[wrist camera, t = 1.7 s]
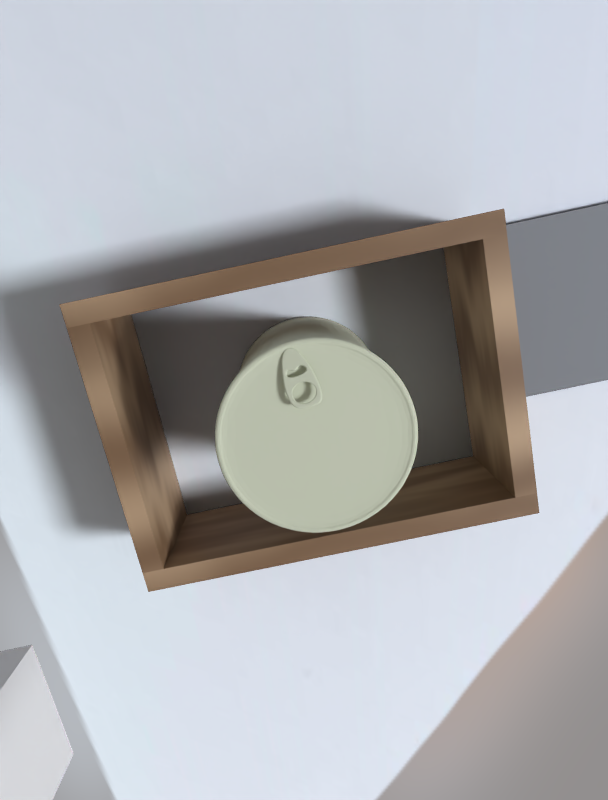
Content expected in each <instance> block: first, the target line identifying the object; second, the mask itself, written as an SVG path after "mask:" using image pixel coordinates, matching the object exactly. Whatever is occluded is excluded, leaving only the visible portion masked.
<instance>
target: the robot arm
mask: <svg viewBox="0 0 608 800" xmlns="http://www.w3.org/2000/svg"><path fill="white" fill-rule="evenodd" d="M72 756H73V750H72V748H71V745H70V742H69V740H68V737H67V734H66V732H65V729H64V727H63V724H62V721H61V719H60V716H59V714H58V711H57V708H56V706H55V703H54V700H53V698H52V695H51V693H50V690H49V687H48V685H47V682H46V679H45V677H44V674H43V672H42V669H41V666H40V664H39V661H38V659H37V656H36V653H35V651H34V648H33V645H28V646H24V647H19V648H14V649H9V650H5V651H0V800H52V799H53V797H54V795H55V793H56V791H57V789H58V787H59V784H60V782H61V780H62V778H63V776H64V773H65V771H66V769H67V767H68V765H69V762H70V760H71V758H72Z"/></svg>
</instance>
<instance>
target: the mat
mask: <svg viewBox="0 0 608 800" xmlns="http://www.w3.org/2000/svg"><path fill="white" fill-rule="evenodd" d="M506 229H507V238H508V247H509V255H510V264H511V273H512V281H513V290H514V299H515V307H516V316H517V325H518V333H519V342H520V351H521V359H522V368H523V377H524V385H525V394H526V397H527V396H532V395H537V394H542V393H546V392H551V391H556V390H561V389H566V388H571V387H575V386H580V385H585V384H590V383H595V382H600V381H604V380H608V203H606V204H601V205H597V206H592V207H587V208H583V209H578V210H573V211H569V212H564V213H559V214H555V215H550V216H545V217H541V218H536V219H531V220H527V221H522V222H517V223H513V224H508V225H506Z"/></svg>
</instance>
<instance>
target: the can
mask: <svg viewBox="0 0 608 800" xmlns="http://www.w3.org/2000/svg"><path fill="white" fill-rule="evenodd" d="M417 444H418V423H417V416H416V412H415V408H414V405H413V402H412V399H411V397H410V395H409V392H408V390H407V388H406V387H405V385H404V383H403V382H402V380H401V379H400V378H399V376H398V375H397V374H396V373H395V371H394V370H393V369H392V368H391V367H390V366H389V365H388V364H387V363H386V362H385V361H383V360H382V359H381V358H379V357H378V356H377V355H375V354H374V353H372V352H371V351H369V349H368V348H367V346H366V345H365V344H364V343H363V341H362V340H361V339H360V338H359V337H358V336H357V335H356V334H355V333H353V332H352V331H351V330H349V329H348V328H346V327H344V326H343V325H341V324H339V323H337V322H334V321H331V320H328V319H324V318H317V317H301V318H294V319H290V320H287V321H284V322H282V323H279V324H277V325H275V326H273V327H272V328H270V329H268V330H267V331H266V332H264V333H263V334H262V335H261V336H260V337H259V338H258V339H257V340H256V341H255V342H254V343H253V344H252V346H251V347H250V349H249V350H248V352H247V354H246V355H245V357H244V360H243V362H242V365H241V368H240V372H239V373H238V374H237V376H236V377H235V378H234V379H233V381H232V382H231V384H230V385H229V387H228V389H227V391H226V393H225V395H224V397H223V399H222V401H221V404H220V407H219V410H218V414H217V419H216V425H215V446H216V453H217V458H218V461H219V465H220V468H221V470H222V473H223V475H224V477H225V479H226V481H227V483H228V485H229V486H230V488H231V489H232V491H233V492H234V493H235V495H236V496H237V497H238V498H239V500H240V501H241V502H242V503H243V504H245V505H246V506H247V507H248V508H249V509H250V510H251V511H253V512H254V513H255V514H257V515H258V516H260V517H261V518H263V519H265V520H266V521H268V522H270V523H273V524H275V525H278V526H280V527H283V528H287V529H290V530H294V531H301V532H312V533H319V532H330V531H336V530H341V529H344V528H348V527H351V526H353V525H356V524H358V523H360V522H362V521H364V520H366V519H368V518H370V517H371V516H373V515H374V514H376V513H377V512H379V511H380V510H381V509H382V508H384V507H385V506H386V505H387V504H388V503H389V502H390V501H391V500H392V499H393V498H394V497H395V495H396V494H397V493H398V492H399V490H400V489H401V487H402V486H403V484H404V483H405V481H406V479H407V477H408V475H409V473H410V471H411V468H412V465H413V463H414V459H415V456H416V450H417Z"/></svg>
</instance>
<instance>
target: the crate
mask: <svg viewBox="0 0 608 800" xmlns="http://www.w3.org/2000/svg"><path fill="white" fill-rule="evenodd" d="M439 248H443V249H444V256H445V263H446V270H447V277H448V284H449V291H450V298H451V305H452V312H453V319H454V326H455V333H456V340H457V347H458V354H459V361H460V368H461V375H462V382H463V389H464V396H465V403H466V410H467V417H468V424H469V431H470V438H471V445H472V452H473V456H471V457H466V458H461V459H456V460H451V461H447V462H442V463H437V464H432V465H427V466H422V467H417V468H412V469H411V471H410V473H409V475H408V477H407V479H406V481H405V483H404V484H403V486H402V487H401V489H400V490H399V492H398V493H397V494H396V495H395V497H394V498H393V499H392V500H391V501H390V502H389V503H388V504H387V505H386V506H385V507H384V508H382V509H381V510H380V511H379V512H377V513H376V514H374V515H373V516H371V517H370V518H368V519H366V520H364V521H362V522H360V523H358V524H356V525H353V526H351V527H348V528H344V529H341V530H336V531H330V532H319V533H312V532H301V531H294V530H290V529H287V528H283V527H280V526H278V525H275V524H273V523H270V522H268V521H266V520H265V519H263V518H261V517H260V516H258V515H257V514H255V513H254V512H253V511H251V510H250V509H249V508H248V507H247V506H246V505H245V504H243V503H242V504H237V505H232V506H227V507H222V508H217V509H212V510H208V511H203V512H198V513H193V514H188V515H187V512H186V508H185V505H184V501H183V498H182V494H181V491H180V487H179V483H178V480H177V476H176V473H175V469H174V466H173V462H172V459H171V455H170V451H169V448H168V444H167V441H166V437H165V434H164V430H163V426H162V423H161V419H160V416H159V412H158V409H157V405H156V402H155V398H154V394H153V391H152V387H151V384H150V380H149V377H148V373H147V370H146V366H145V362H144V359H143V355H142V352H141V348H140V345H139V341H138V337H137V334H136V330H135V327H134V323H133V320H132V316H131V314H135V313H140V312H145V311H149V310H154V309H159V308H163V307H168V306H173V305H177V304H182V303H187V302H191V301H196V300H201V299H205V298H210V297H215V296H219V295H224V294H229V293H233V292H238V291H243V290H247V289H252V288H257V287H261V286H266V285H271V284H275V283H280V282H285V281H289V280H294V279H299V278H303V277H308V276H313V275H317V274H322V273H327V272H331V271H336V270H341V269H345V268H350V267H355V266H359V265H364V264H369V263H373V262H378V261H383V260H387V259H392V258H397V257H401V256H406V255H411V254H415V253H420V252H425V251H429V250H434V249H439ZM59 305H60V308H61V311H62V314H63V318H64V321H65V324H66V327H67V330H68V334H69V337H70V340H71V343H72V347H73V350H74V353H75V356H76V359H77V363H78V366H79V369H80V372H81V376H82V379H83V382H84V385H85V389H86V392H87V395H88V398H89V401H90V405H91V408H92V411H93V414H94V418H95V421H96V424H97V427H98V430H99V434H100V437H101V440H102V443H103V447H104V450H105V453H106V456H107V459H108V463H109V466H110V469H111V472H112V476H113V479H114V482H115V485H116V488H117V492H118V495H119V498H120V501H121V505H122V508H123V511H124V514H125V517H126V521H127V524H128V527H129V530H130V534H131V537H132V540H133V543H134V546H135V550H136V553H137V556H138V559H139V563H140V566H141V569H142V572H143V575H144V579H145V582H146V585H147V588H148V592H150V591H155V590H160V589H165V588H170V587H175V586H180V585H185V584H190V583H195V582H200V581H205V580H209V579H214V578H219V577H224V576H229V575H234V574H239V573H244V572H249V571H254V570H259V569H264V568H269V567H274V566H279V565H284V564H289V563H294V562H299V561H304V560H309V559H313V558H318V557H323V556H328V555H333V554H338V553H343V552H348V551H353V550H358V549H363V548H368V547H373V546H378V545H383V544H388V543H393V542H398V541H403V540H408V539H413V538H417V537H422V536H427V535H432V534H437V533H442V532H447V531H452V530H457V529H462V528H467V527H472V526H477V525H482V524H487V523H492V522H497V521H502V520H507V519H512V518H517V517H521V516H526V515H531V514H536V513H539V507H538V498H537V489H536V481H535V472H534V463H533V455H532V446H531V437H530V429H529V420H528V411H527V403H526V394H525V385H524V377H523V368H522V359H521V351H520V342H519V333H518V325H517V316H516V307H515V299H514V290H513V281H512V273H511V264H510V255H509V247H508V238H507V229H506V221H505V212H504V209H500V210H496V211H491V212H486V213H482V214H477V215H472V216H468V217H463V218H458V219H454V220H449V221H445V222H440V223H435V224H431V225H426V226H421V227H417V228H412V229H407V230H403V231H398V232H393V233H389V234H384V235H380V236H375V237H370V238H366V239H361V240H356V241H352V242H347V243H342V244H338V245H333V246H329V247H324V248H319V249H315V250H310V251H305V252H301V253H296V254H291V255H287V256H282V257H277V258H273V259H268V260H264V261H259V262H254V263H250V264H245V265H240V266H236V267H231V268H226V269H222V270H217V271H212V272H208V273H203V274H199V275H194V276H189V277H185V278H180V279H175V280H171V281H166V282H161V283H157V284H152V285H147V286H143V287H138V288H134V289H129V290H124V291H120V292H115V293H110V294H106V295H101V296H96V297H92V298H87V299H82V300H78V301H73V302H69V303H64V304H59Z"/></svg>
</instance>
